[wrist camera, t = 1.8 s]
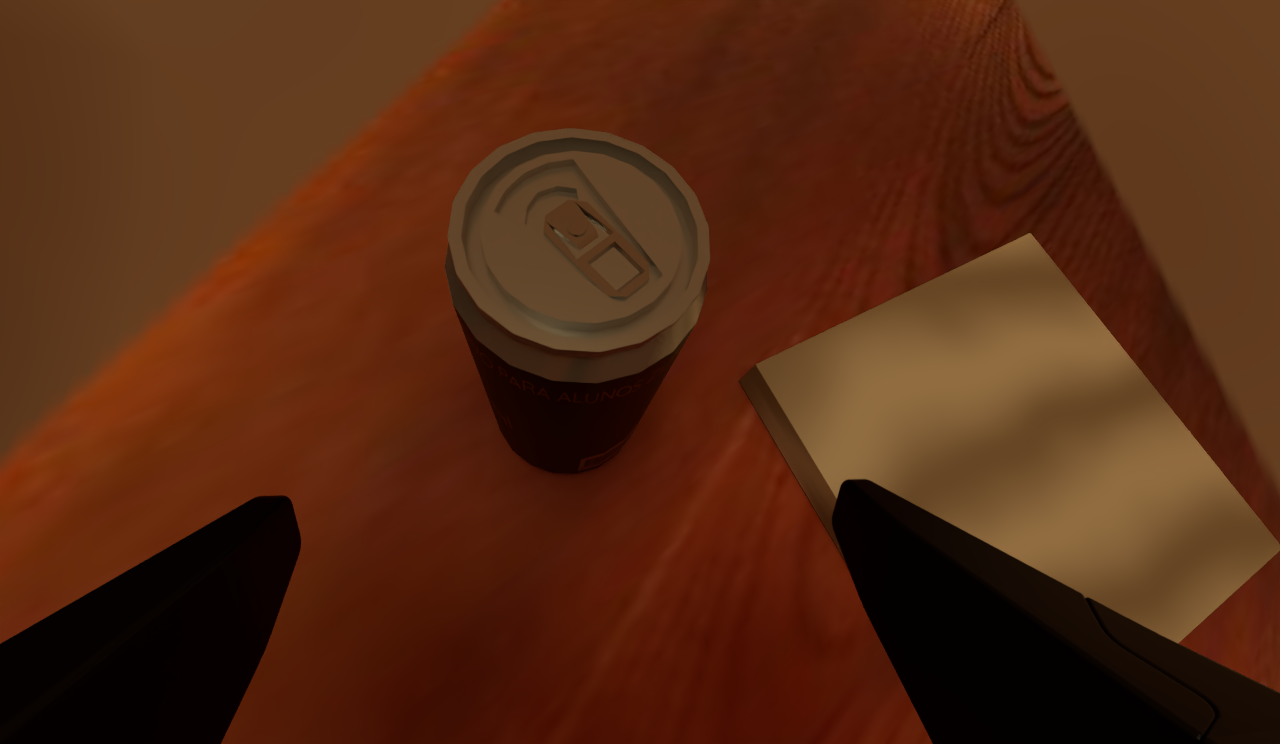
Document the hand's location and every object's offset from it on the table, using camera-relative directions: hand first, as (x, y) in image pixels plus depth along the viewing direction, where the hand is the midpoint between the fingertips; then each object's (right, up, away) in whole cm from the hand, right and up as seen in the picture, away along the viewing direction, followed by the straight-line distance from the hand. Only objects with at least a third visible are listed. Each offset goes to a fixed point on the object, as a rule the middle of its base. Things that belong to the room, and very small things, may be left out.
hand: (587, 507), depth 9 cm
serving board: (+16, -2, +14) cm, 21 cm away
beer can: (-2, +1, +13) cm, 13 cm away
